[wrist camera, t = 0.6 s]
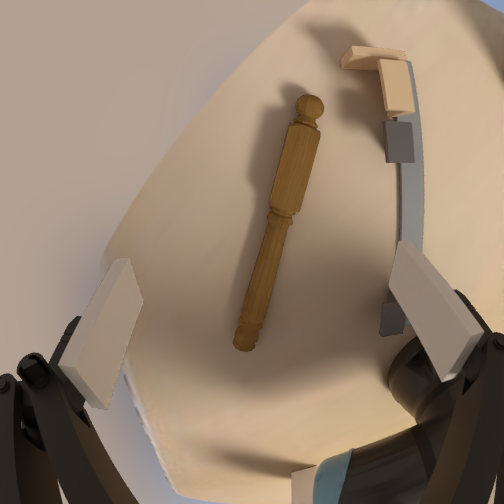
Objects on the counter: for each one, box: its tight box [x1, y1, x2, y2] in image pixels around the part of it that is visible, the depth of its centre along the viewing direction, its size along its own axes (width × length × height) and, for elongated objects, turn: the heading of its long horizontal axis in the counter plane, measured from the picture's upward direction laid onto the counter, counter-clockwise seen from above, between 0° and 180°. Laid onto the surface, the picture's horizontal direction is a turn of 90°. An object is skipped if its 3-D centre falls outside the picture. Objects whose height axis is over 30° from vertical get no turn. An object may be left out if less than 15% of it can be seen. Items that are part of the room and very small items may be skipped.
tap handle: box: [233, 94, 324, 352], centre depth 31 cm, size 3×3×30 cm
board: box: [340, 46, 424, 337], centre depth 27 cm, size 33×9×6 cm, turn 6°
